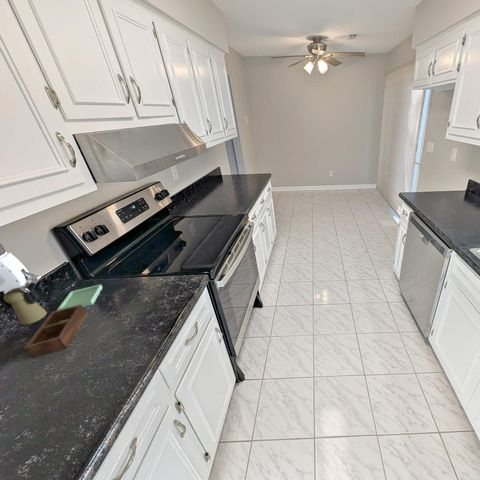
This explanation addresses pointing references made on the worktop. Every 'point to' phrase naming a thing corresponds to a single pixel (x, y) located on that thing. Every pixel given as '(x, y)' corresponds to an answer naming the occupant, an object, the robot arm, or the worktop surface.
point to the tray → (81, 297)
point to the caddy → (56, 331)
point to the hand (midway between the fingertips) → (23, 303)
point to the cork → (24, 307)
